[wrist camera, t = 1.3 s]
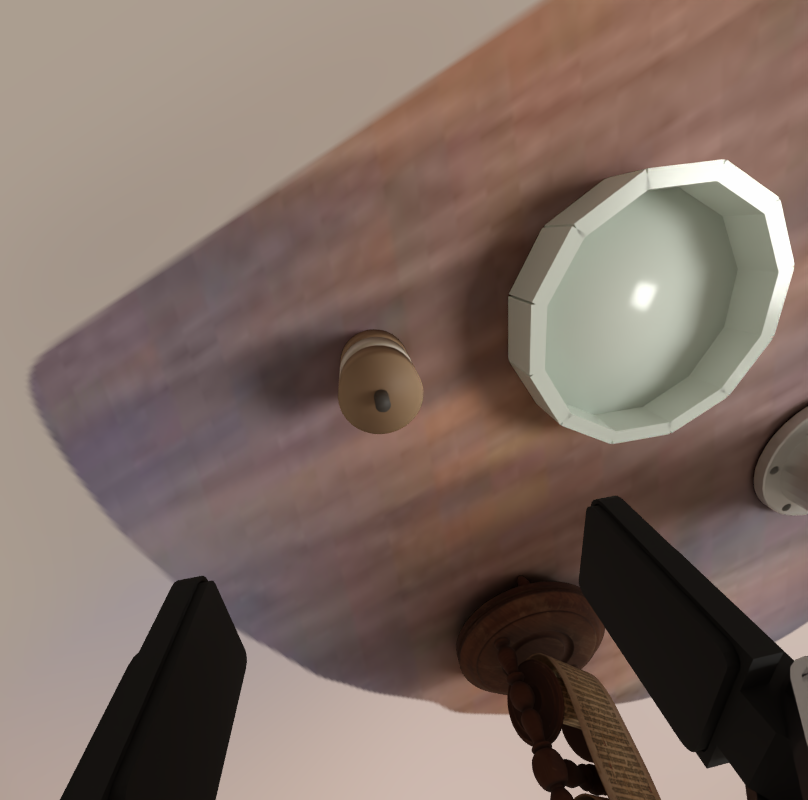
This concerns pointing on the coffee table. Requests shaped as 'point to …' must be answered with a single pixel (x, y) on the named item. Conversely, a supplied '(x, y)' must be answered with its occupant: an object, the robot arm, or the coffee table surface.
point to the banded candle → (378, 383)
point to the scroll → (554, 688)
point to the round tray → (649, 299)
